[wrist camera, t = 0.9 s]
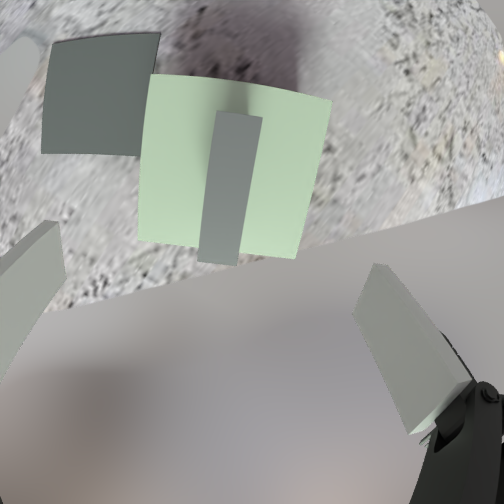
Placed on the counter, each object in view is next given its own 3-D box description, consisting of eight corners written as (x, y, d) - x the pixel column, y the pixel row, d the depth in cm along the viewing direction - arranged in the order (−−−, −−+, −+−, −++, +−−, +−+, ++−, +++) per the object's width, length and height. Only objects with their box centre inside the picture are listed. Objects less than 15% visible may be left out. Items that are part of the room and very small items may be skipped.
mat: (53, 44, 27) (52, 44, 26) (160, 34, 29) (160, 33, 29) (42, 153, 35) (41, 153, 34) (142, 156, 37) (141, 156, 37)
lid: (153, 75, 22) (120, 62, 14) (329, 101, 25) (369, 101, 17) (140, 236, 30) (113, 282, 22) (293, 254, 32) (312, 304, 25)
